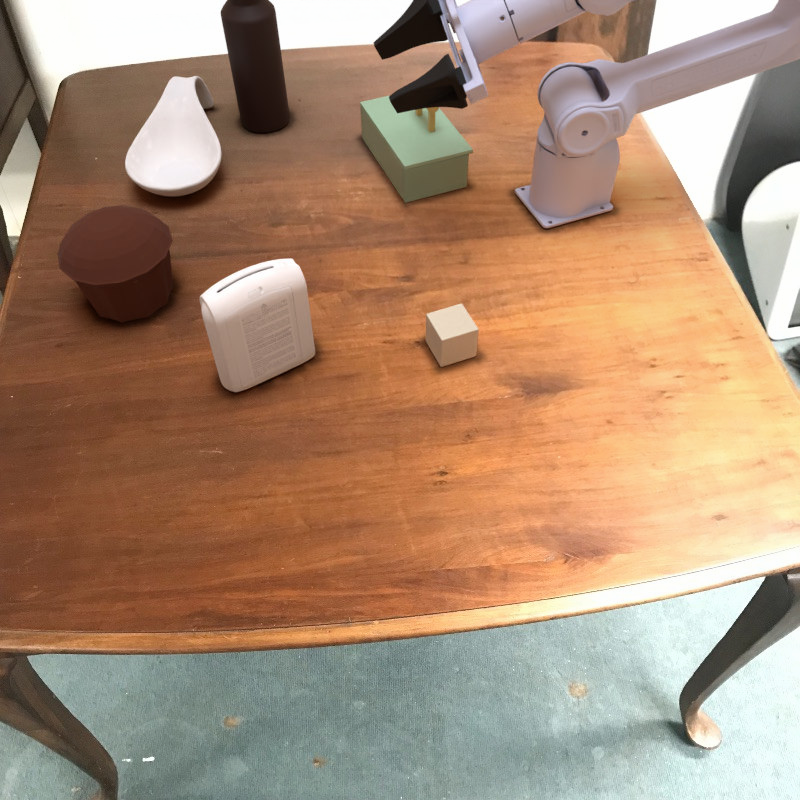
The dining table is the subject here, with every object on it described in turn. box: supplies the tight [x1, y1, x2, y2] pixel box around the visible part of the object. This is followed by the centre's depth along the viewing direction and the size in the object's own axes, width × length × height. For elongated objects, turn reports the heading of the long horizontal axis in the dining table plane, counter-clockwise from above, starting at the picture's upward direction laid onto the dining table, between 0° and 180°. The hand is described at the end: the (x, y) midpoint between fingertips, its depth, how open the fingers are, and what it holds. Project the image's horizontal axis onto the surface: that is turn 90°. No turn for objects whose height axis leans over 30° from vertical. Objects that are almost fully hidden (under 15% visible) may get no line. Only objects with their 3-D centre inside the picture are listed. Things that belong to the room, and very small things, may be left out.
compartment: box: [359, 105, 470, 204], centre depth 99 cm, size 8×15×5 cm, turn 22°
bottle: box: [220, 0, 291, 134], centre depth 99 cm, size 7×7×20 cm
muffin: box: [57, 204, 174, 323], centre depth 82 cm, size 12×11×10 cm
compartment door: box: [359, 94, 474, 170], centre depth 95 cm, size 9×15×5 cm, turn 22°
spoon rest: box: [124, 75, 223, 197], centre depth 99 cm, size 24×12×7 cm, turn 3°
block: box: [425, 302, 480, 368], centre depth 78 cm, size 4×4×4 cm
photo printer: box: [199, 258, 316, 393], centre depth 74 cm, size 10×4×12 cm, turn 123°
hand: (385, 77), depth 80 cm, fingers open, 7 cm apart
